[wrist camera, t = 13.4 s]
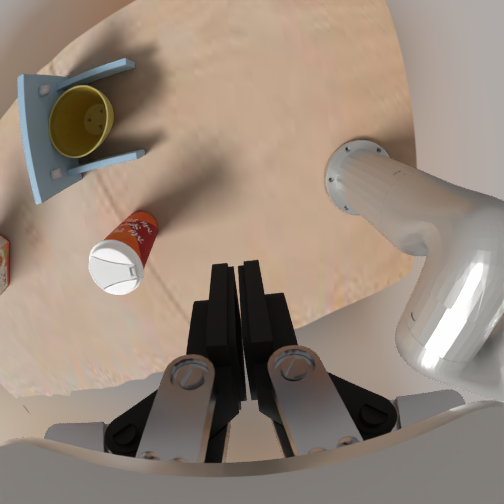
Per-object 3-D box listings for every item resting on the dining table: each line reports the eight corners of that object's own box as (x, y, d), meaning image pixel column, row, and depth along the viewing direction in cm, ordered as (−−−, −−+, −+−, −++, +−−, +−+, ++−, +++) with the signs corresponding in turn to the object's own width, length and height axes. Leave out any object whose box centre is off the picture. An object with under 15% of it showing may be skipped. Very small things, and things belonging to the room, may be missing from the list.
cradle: (134, 53, 29) (100, 36, 18) (146, 164, 38) (117, 184, 27) (62, 79, 29) (17, 77, 18) (76, 180, 37) (36, 204, 27)
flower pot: (112, 75, 30) (91, 70, 24) (138, 127, 35) (120, 131, 29) (64, 112, 32) (39, 115, 25) (88, 161, 36) (66, 171, 30)
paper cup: (160, 202, 41) (132, 242, 28) (167, 246, 44) (147, 298, 32) (116, 207, 40) (77, 246, 28) (125, 249, 44) (94, 298, 32)
